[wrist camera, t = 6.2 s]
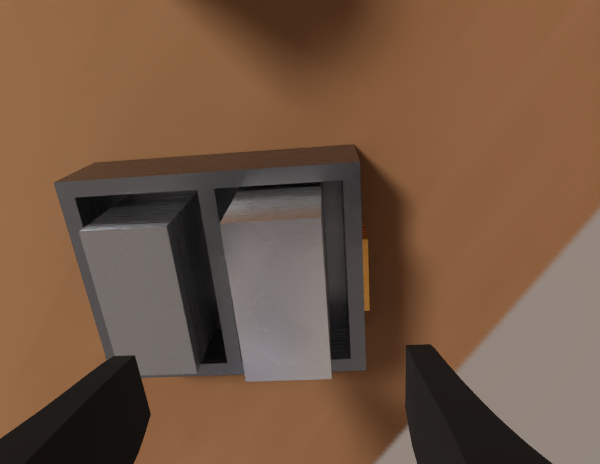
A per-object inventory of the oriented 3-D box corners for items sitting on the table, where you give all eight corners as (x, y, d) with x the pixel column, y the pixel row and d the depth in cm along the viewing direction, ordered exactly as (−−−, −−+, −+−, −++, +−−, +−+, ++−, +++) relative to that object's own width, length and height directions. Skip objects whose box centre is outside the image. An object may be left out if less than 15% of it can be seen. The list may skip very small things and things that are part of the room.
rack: (364, 327, 21) (375, 396, 17) (139, 336, 22) (95, 404, 17) (359, 143, 18) (370, 172, 13) (94, 162, 18) (27, 195, 14)
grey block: (329, 300, 20) (331, 378, 15) (263, 302, 20) (246, 381, 15) (321, 170, 17) (321, 217, 13) (246, 175, 18) (219, 223, 13)
